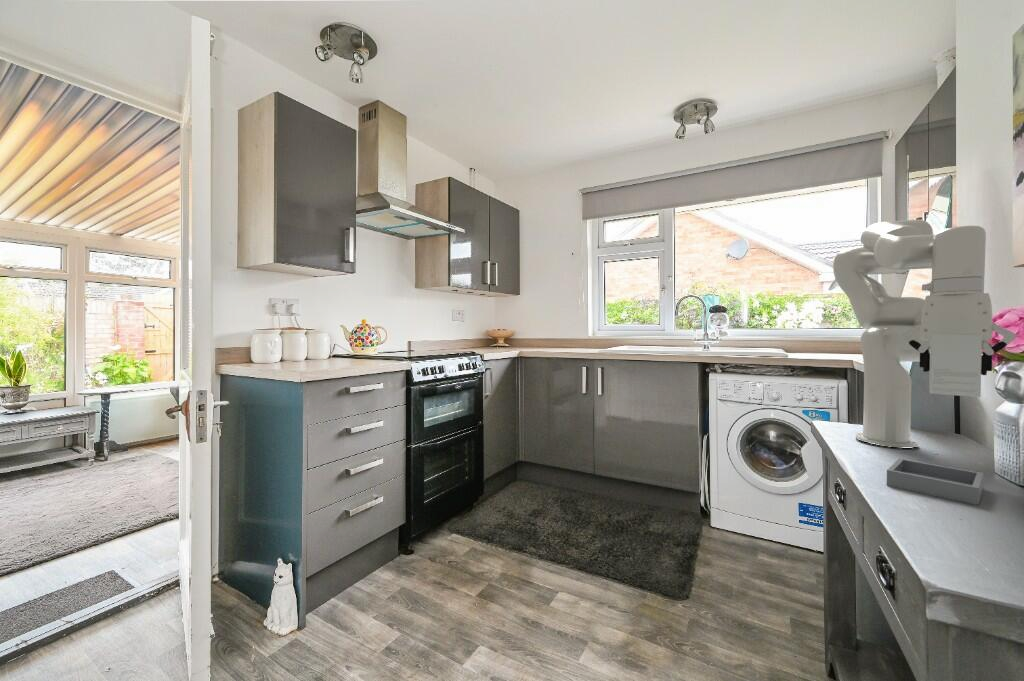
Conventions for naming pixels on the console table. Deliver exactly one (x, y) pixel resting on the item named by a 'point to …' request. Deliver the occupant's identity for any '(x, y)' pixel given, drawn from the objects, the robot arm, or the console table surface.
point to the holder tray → (936, 480)
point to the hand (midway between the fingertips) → (954, 372)
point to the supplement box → (955, 364)
